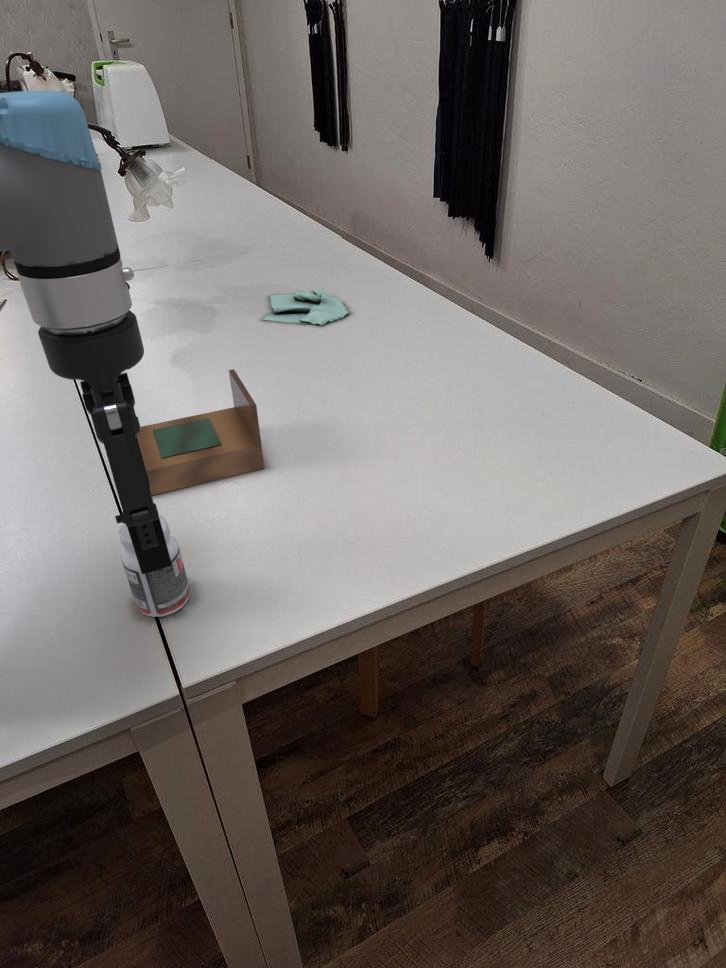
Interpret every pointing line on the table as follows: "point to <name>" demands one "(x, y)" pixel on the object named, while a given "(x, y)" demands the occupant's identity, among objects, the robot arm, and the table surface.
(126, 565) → the pill bottle
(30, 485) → the table surface
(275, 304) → the cloth
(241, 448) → the shelf
